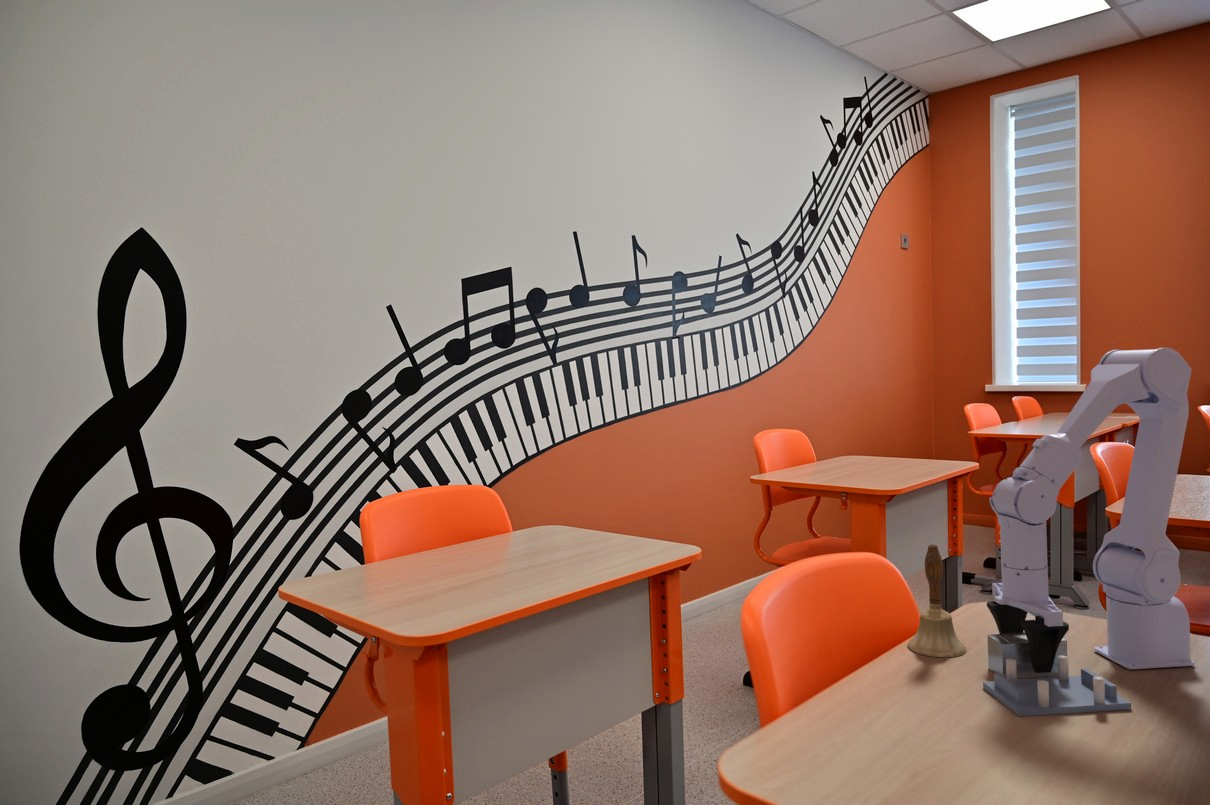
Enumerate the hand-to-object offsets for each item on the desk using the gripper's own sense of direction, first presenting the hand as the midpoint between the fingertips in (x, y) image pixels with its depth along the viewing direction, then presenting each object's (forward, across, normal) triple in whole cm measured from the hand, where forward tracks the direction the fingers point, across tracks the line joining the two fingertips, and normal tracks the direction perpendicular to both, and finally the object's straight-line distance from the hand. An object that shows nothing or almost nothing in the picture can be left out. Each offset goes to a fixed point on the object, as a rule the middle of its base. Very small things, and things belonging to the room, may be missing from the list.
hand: (1027, 661), depth 113 cm
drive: (+2, 0, 0) cm, 2 cm away
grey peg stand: (+1, +9, -2) cm, 9 cm away
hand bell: (+2, -11, -8) cm, 14 cm away
